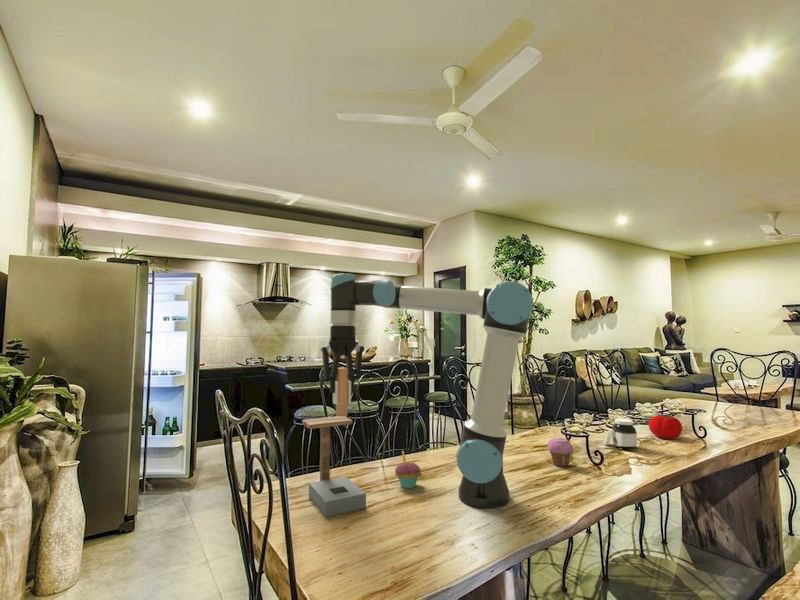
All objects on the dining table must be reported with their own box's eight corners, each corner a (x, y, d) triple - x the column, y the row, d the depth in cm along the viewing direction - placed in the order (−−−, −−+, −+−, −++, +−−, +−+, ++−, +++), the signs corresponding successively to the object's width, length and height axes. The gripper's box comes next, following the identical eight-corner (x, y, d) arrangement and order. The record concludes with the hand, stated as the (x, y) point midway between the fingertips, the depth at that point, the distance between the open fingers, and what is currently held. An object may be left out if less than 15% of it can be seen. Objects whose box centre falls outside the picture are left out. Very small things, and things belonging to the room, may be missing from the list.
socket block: (365, 507, 119) (365, 493, 120) (325, 516, 114) (325, 501, 114) (345, 489, 134) (345, 476, 134) (308, 496, 128) (309, 483, 128)
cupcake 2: (565, 470, 150) (565, 442, 151) (543, 464, 156) (543, 437, 157) (577, 465, 156) (576, 437, 156) (555, 459, 162) (555, 433, 163)
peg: (345, 413, 127) (346, 367, 128) (348, 415, 124) (349, 368, 125) (334, 414, 126) (335, 367, 127) (337, 416, 123) (338, 368, 124)
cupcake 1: (402, 492, 131) (402, 453, 131) (390, 483, 138) (390, 446, 139) (426, 487, 135) (425, 449, 135) (413, 479, 142) (412, 443, 143)
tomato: (656, 440, 189) (655, 417, 190) (645, 433, 201) (644, 411, 202) (688, 441, 187) (687, 417, 187) (675, 434, 199) (674, 412, 200)
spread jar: (640, 451, 173) (639, 422, 174) (613, 451, 173) (612, 422, 174) (625, 443, 185) (624, 416, 186) (599, 443, 185) (598, 416, 186)
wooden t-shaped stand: (352, 491, 131) (352, 420, 133) (308, 500, 125) (309, 425, 126) (343, 483, 138) (343, 415, 140) (301, 491, 132) (302, 420, 133)
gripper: (364, 325, 134) (363, 399, 132) (313, 324, 127) (311, 403, 125) (372, 325, 127) (371, 403, 125) (319, 324, 120) (317, 407, 118)
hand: (341, 403), depth 125 cm, fingers closed on peg, 3 cm apart
